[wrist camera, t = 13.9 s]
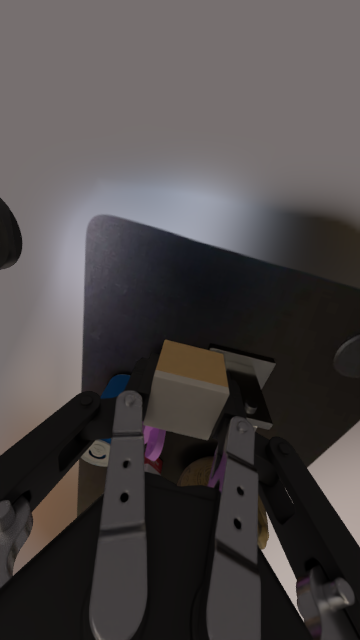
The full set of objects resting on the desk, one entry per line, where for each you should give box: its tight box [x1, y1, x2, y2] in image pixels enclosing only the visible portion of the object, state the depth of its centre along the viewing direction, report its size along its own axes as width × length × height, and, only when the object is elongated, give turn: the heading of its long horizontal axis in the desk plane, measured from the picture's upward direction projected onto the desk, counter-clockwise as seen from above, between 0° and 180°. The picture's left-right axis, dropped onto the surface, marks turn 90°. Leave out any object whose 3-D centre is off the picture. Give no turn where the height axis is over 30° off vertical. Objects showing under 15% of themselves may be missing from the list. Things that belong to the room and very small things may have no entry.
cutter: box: [208, 344, 276, 430], centre depth 28 cm, size 10×8×11 cm
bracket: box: [142, 421, 166, 461], centre depth 39 cm, size 13×6×7 cm, turn 144°
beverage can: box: [81, 374, 130, 466], centre depth 31 cm, size 6×6×12 cm
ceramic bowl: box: [177, 456, 269, 549], centre depth 38 cm, size 22×17×15 cm
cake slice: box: [143, 340, 229, 440], centre depth 13 cm, size 4×4×4 cm
